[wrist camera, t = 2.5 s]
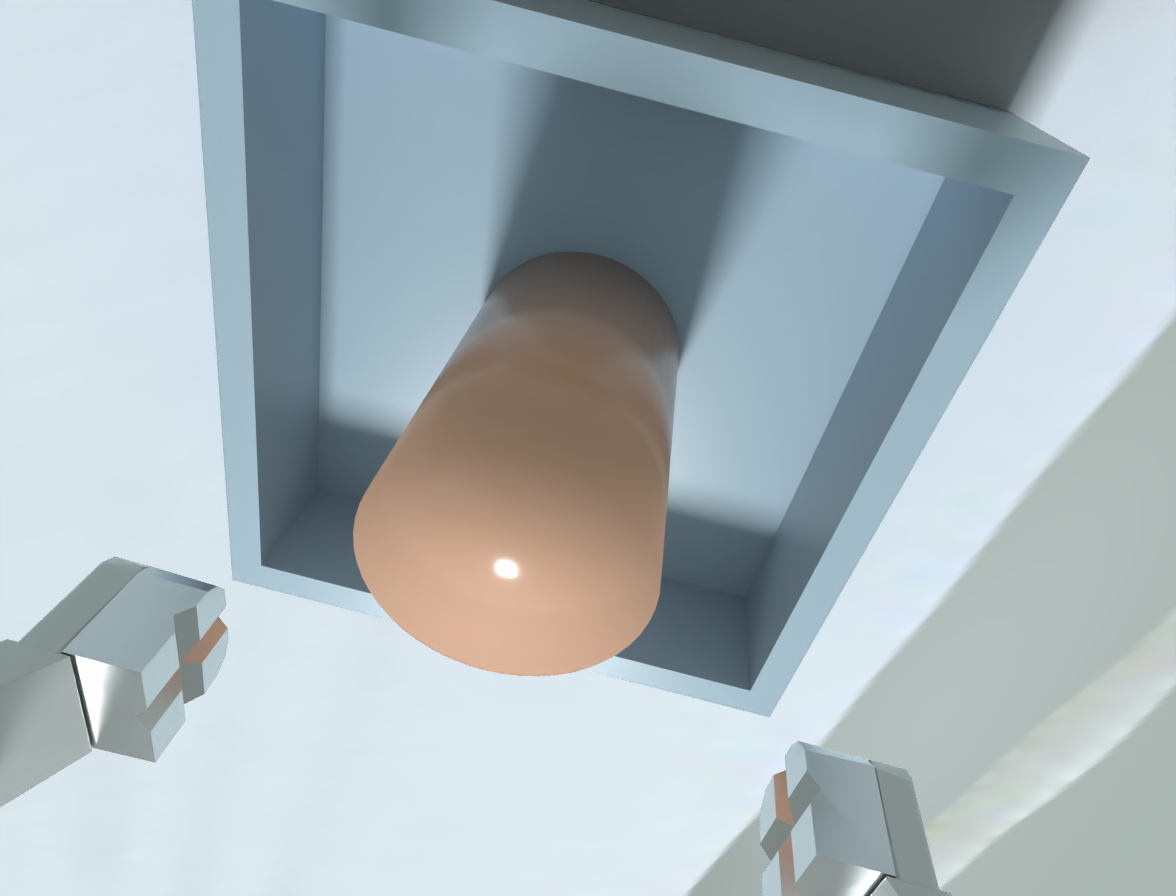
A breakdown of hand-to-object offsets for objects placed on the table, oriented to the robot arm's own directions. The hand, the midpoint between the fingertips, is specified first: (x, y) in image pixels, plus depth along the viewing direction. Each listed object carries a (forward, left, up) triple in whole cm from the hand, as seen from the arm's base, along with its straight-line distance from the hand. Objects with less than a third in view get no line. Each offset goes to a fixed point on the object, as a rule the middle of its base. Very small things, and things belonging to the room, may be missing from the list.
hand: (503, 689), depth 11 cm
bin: (-1, 0, -11) cm, 11 cm away
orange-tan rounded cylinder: (-1, 0, -10) cm, 10 cm away
